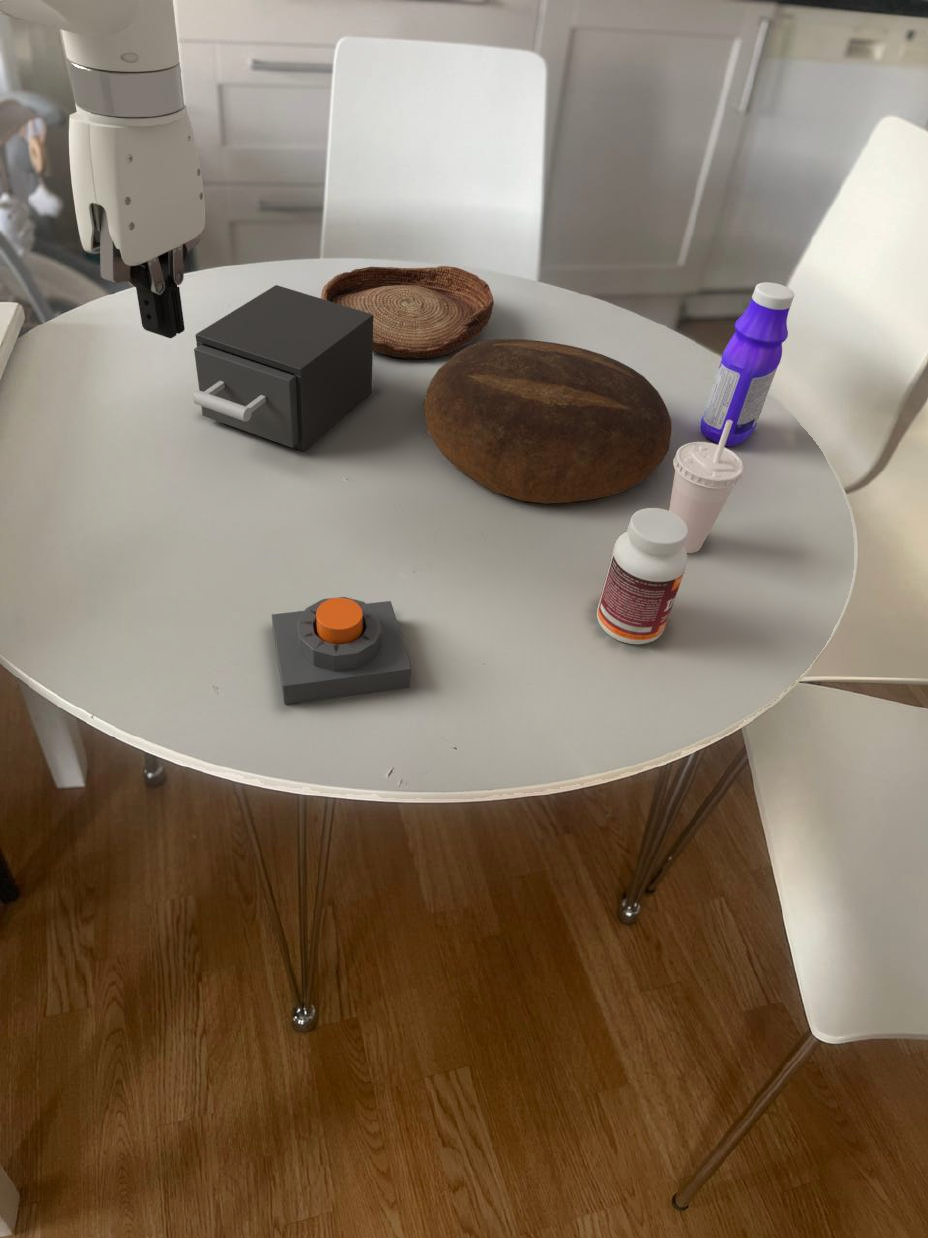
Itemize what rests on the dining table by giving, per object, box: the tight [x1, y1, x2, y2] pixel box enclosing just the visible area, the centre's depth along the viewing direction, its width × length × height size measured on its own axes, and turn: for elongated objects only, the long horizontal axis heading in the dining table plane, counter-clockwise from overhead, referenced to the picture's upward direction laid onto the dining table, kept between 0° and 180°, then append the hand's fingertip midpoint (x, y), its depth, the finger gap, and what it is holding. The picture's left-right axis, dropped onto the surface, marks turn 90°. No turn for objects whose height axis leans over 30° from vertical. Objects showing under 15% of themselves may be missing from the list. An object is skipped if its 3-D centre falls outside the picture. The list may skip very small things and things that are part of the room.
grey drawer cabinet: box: [195, 284, 374, 452], centre depth 97 cm, size 15×13×10 cm
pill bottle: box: [596, 507, 688, 645], centre depth 75 cm, size 6×6×11 cm
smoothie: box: [668, 420, 745, 554], centre depth 84 cm, size 6×6×14 cm
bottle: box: [700, 281, 795, 447], centre depth 98 cm, size 7×6×17 cm
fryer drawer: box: [192, 345, 299, 449], centre depth 94 cm, size 18×11×8 cm, turn 155°
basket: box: [320, 265, 495, 360], centre depth 115 cm, size 22×20×5 cm
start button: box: [316, 597, 363, 645], centre depth 70 cm, size 4×4×2 cm
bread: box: [423, 338, 673, 504], centre depth 97 cm, size 28×27×9 cm
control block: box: [271, 596, 412, 705], centre depth 71 cm, size 10×8×4 cm
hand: (163, 330), depth 76 cm, fingers closed
